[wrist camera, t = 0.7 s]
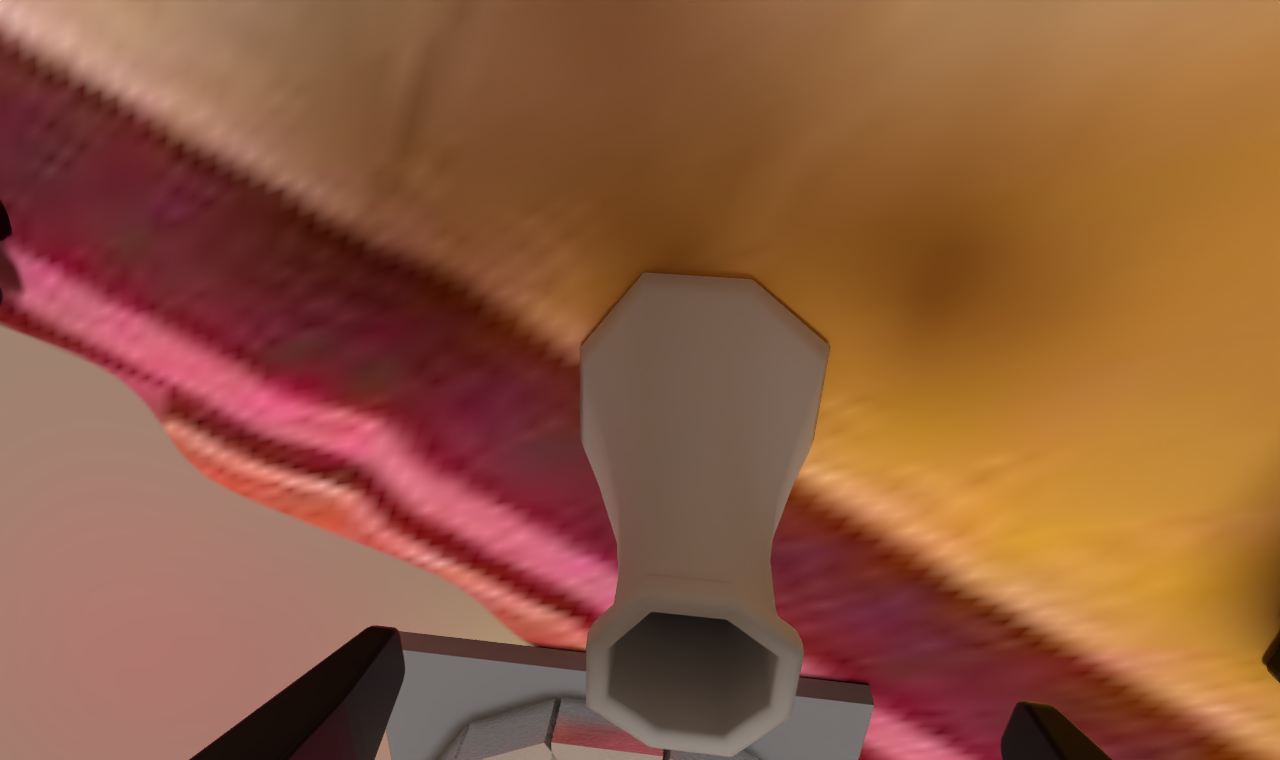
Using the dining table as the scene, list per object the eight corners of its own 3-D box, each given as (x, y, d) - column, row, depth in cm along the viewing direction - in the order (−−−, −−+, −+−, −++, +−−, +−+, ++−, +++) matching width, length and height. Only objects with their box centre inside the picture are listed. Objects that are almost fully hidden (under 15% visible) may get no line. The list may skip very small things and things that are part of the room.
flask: (759, 524, 20) (803, 886, 11) (545, 444, 19) (401, 750, 10) (875, 326, 17) (1074, 595, 8) (624, 225, 16) (520, 383, 7)
